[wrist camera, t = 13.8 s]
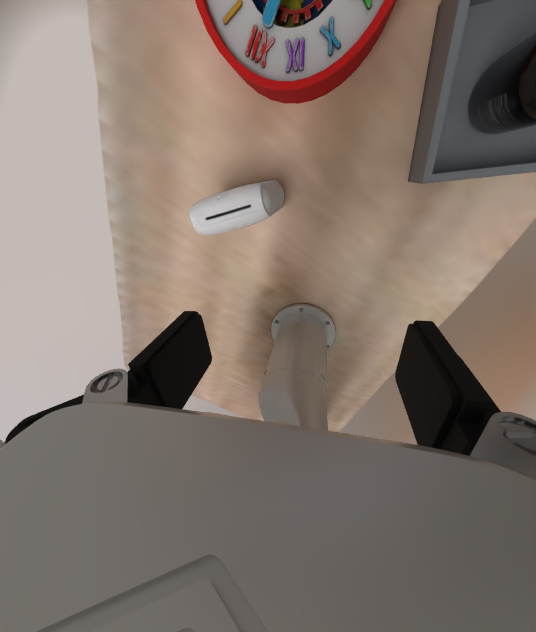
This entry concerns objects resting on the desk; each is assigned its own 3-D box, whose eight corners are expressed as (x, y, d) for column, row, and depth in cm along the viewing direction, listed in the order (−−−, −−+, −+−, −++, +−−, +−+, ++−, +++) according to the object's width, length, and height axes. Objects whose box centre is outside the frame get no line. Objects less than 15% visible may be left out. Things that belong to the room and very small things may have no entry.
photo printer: (227, 224, 38) (191, 243, 28) (218, 196, 36) (176, 206, 26) (287, 207, 35) (271, 223, 25) (281, 175, 33) (260, 178, 23)
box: (552, 166, 27) (597, 165, 22) (408, 181, 30) (422, 183, 26) (646, -48, 19) (745, -116, 15) (438, 6, 23) (466, -35, 18)
